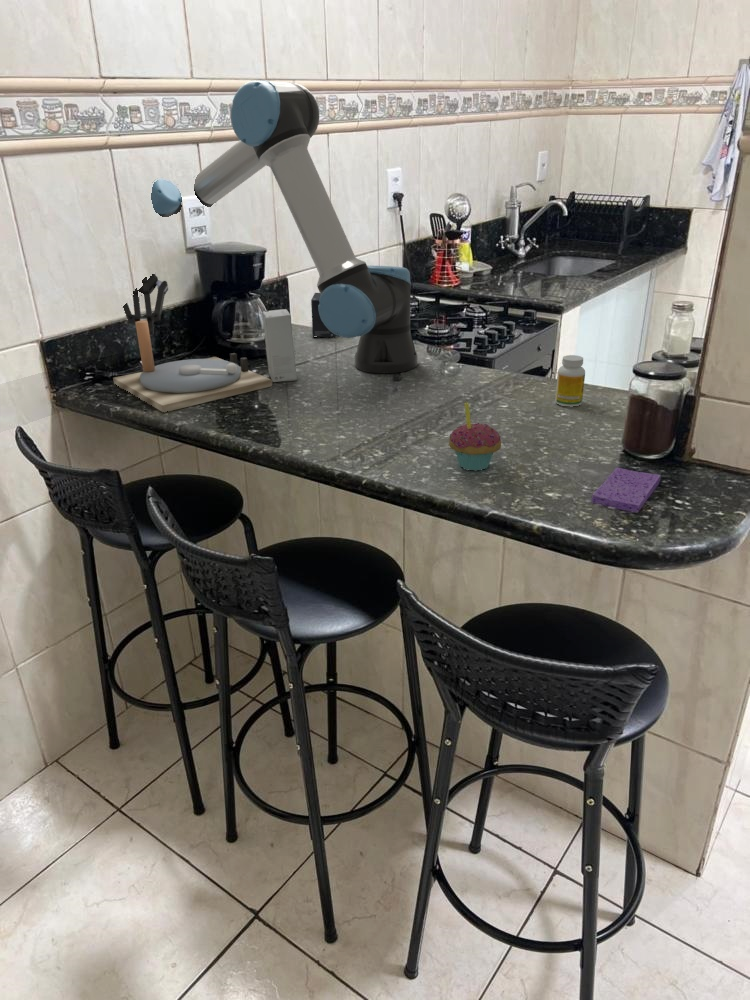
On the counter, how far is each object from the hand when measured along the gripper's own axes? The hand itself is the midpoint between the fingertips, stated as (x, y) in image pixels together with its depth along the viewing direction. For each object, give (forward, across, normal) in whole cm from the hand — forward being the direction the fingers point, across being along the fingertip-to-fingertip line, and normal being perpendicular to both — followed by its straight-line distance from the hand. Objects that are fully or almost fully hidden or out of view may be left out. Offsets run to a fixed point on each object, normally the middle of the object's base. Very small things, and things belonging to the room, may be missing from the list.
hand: (146, 346), depth 171 cm
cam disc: (+11, +9, -4) cm, 15 cm away
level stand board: (+13, +9, -3) cm, 16 cm away
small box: (-14, +47, +24) cm, 55 cm away
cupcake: (+56, +54, -45) cm, 89 cm away
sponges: (+67, +72, -56) cm, 114 cm away
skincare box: (+13, +30, -2) cm, 32 cm away
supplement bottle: (+39, +83, -28) cm, 96 cm away
